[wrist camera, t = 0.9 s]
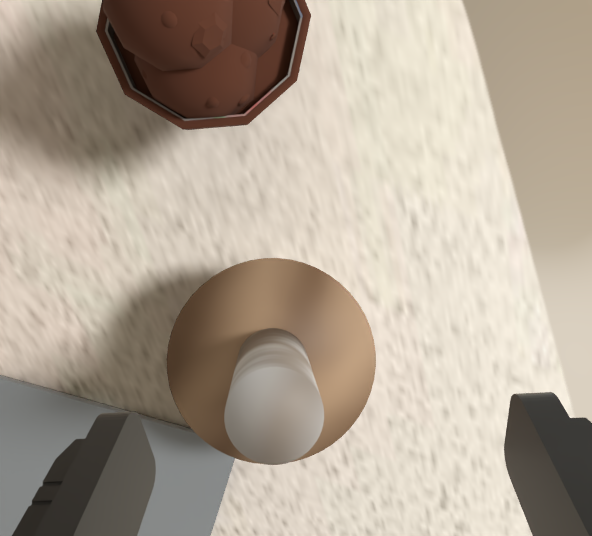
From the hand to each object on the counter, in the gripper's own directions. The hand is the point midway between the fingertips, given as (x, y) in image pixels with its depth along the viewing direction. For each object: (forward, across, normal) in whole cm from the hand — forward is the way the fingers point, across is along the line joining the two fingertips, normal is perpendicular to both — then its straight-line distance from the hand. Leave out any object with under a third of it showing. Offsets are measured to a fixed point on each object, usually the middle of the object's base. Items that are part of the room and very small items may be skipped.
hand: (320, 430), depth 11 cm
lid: (+17, +4, +12) cm, 21 cm away
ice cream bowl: (+29, +7, -4) cm, 30 cm away
